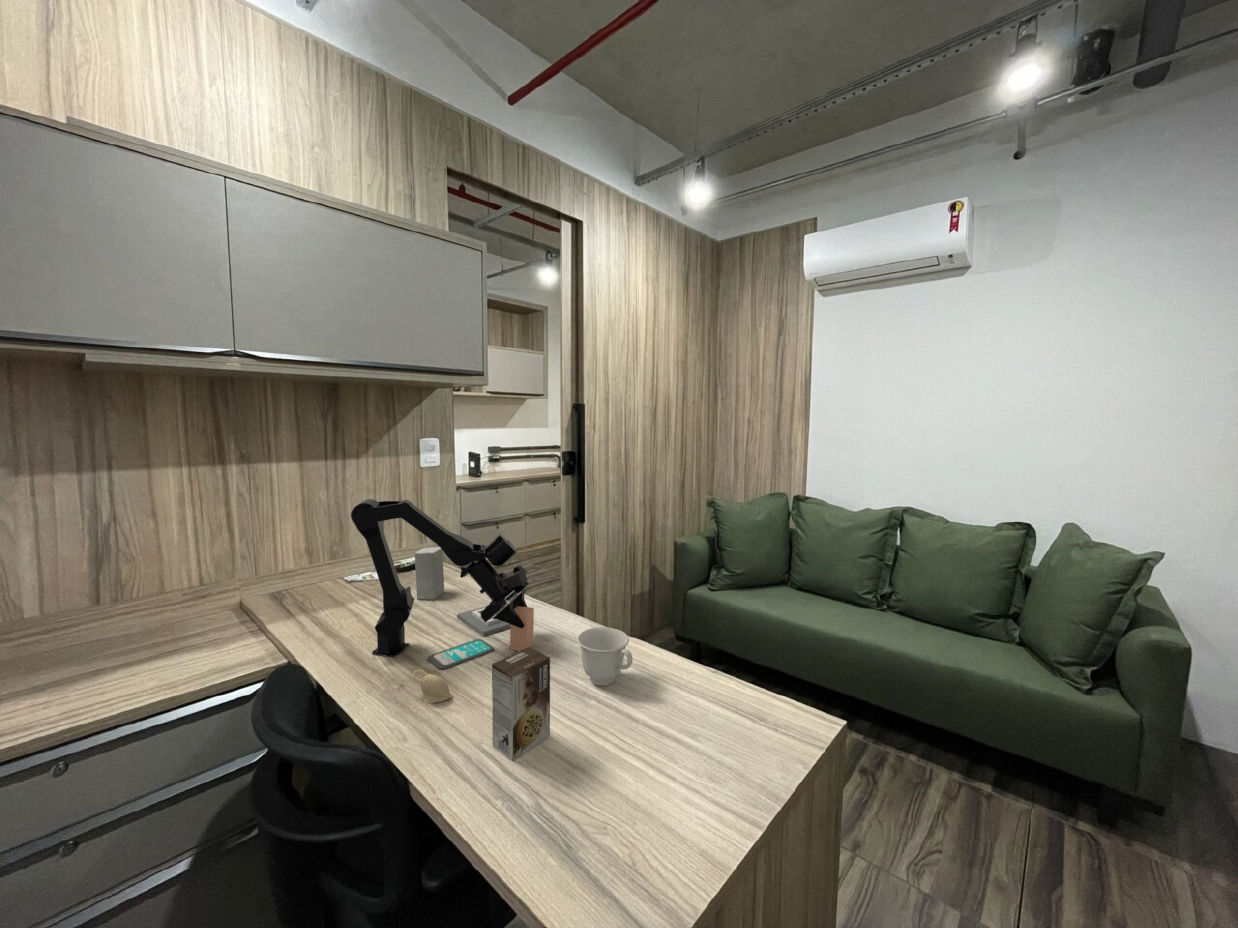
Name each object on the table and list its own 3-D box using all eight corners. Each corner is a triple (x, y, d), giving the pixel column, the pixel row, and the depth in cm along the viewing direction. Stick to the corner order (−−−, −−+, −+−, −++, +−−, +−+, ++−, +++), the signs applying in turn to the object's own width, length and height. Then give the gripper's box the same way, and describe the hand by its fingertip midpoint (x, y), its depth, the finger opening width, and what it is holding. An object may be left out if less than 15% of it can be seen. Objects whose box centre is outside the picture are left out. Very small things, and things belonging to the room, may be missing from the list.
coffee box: (528, 722, 96) (529, 645, 95) (550, 736, 92) (552, 656, 91) (490, 745, 89) (490, 662, 88) (512, 762, 85) (513, 675, 84)
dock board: (483, 636, 133) (483, 628, 133) (457, 617, 145) (457, 610, 144) (532, 620, 144) (532, 613, 144) (504, 604, 156) (504, 598, 155)
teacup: (610, 705, 103) (612, 661, 102) (565, 678, 113) (566, 637, 112) (647, 684, 111) (649, 642, 110) (602, 660, 122) (603, 622, 121)
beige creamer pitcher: (439, 707, 101) (438, 682, 100) (410, 696, 104) (409, 672, 104) (453, 697, 104) (453, 673, 104) (425, 687, 108) (424, 664, 107)
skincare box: (435, 600, 157) (435, 553, 156) (413, 599, 157) (413, 552, 156) (445, 591, 166) (445, 546, 164) (424, 590, 166) (424, 545, 164)
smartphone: (424, 655, 120) (479, 637, 131) (425, 659, 120) (479, 640, 131) (440, 668, 114) (496, 648, 125) (440, 672, 115) (496, 652, 125)
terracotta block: (526, 651, 125) (527, 614, 124) (510, 649, 126) (510, 612, 125) (533, 643, 130) (533, 607, 129) (517, 641, 131) (517, 605, 130)
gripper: (492, 570, 117) (534, 619, 116) (522, 550, 135) (559, 591, 134) (462, 598, 120) (504, 646, 118) (496, 574, 138) (532, 616, 137)
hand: (527, 623), depth 127 cm, fingers closed on terracotta block, 5 cm apart
